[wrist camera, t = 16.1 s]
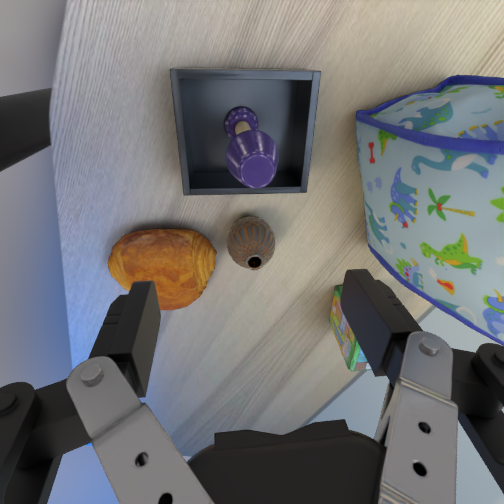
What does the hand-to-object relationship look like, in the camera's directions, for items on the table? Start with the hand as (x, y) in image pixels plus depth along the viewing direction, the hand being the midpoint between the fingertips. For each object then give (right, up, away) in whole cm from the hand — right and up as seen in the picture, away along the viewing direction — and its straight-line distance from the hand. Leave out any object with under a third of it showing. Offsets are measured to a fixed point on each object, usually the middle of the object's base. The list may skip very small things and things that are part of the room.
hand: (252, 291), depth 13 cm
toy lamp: (-1, +17, +25) cm, 30 cm away
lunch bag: (+23, +14, +31) cm, 41 cm away
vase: (0, +5, +34) cm, 34 cm away
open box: (-1, +18, +26) cm, 31 cm away
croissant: (-13, 0, +35) cm, 38 cm away
